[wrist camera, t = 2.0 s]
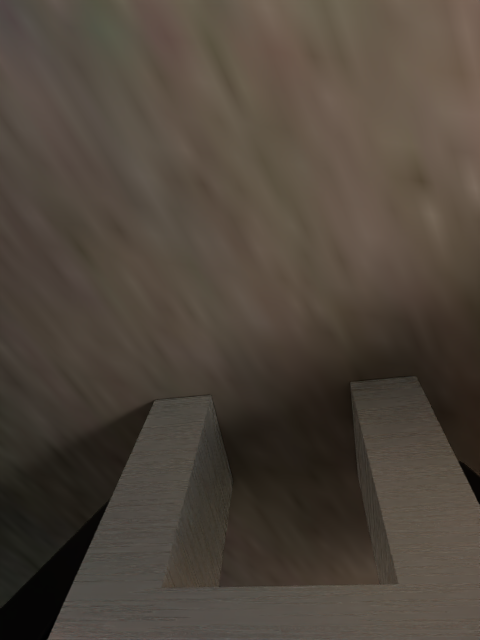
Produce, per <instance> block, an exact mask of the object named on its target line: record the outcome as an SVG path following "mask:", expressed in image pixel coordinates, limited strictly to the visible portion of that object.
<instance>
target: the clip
mask: <svg viewBox="0 0 480 640" xmlns="http://www.w3.org/2000/svg"><path fill="white" fill-rule="evenodd" d="M350 386H351V398H352V411H353V423H354V435H355V447H356V460H357V472H358V478H359V483H360V488H361V493H362V498H363V503H364V508H365V513H366V518H367V523H368V528H369V533H370V538H371V543H372V548H373V553H374V558H375V563H376V568H377V573H378V578H379V583H380V585H322V586H259V587H219V580H220V573H221V565H222V558H223V551H224V544H225V537H226V529H227V522H228V515H229V508H230V501H231V494H232V486H233V479H232V475H231V471H230V467H229V463H228V459H227V455H226V451H225V447H224V443H223V440H222V436H221V432H220V428H219V424H218V420H217V416H216V412H215V408H214V404H213V400H212V396H211V395H207V396H196V397H185V398H174V399H163V400H155V401H154V403H153V406H152V408H151V410H150V412H149V415H148V417H147V419H146V421H145V423H144V426H143V428H142V430H141V432H140V435H139V437H138V439H137V441H136V444H135V446H134V448H133V450H132V452H131V455H130V457H129V459H128V461H127V464H126V466H125V468H124V470H123V473H122V475H121V477H120V479H119V481H118V484H117V486H116V488H115V490H114V493H113V495H112V497H111V499H110V501H109V504H108V506H107V508H106V510H105V513H104V515H103V517H102V519H101V522H100V524H99V526H98V528H97V530H96V533H95V535H94V537H93V539H92V542H91V544H90V546H89V548H88V551H87V553H86V555H85V557H84V559H83V562H82V564H81V566H80V568H79V571H78V573H77V575H76V577H75V580H74V582H73V584H72V586H71V588H70V591H69V593H68V595H67V597H66V600H65V602H64V604H63V606H62V609H61V611H60V613H59V615H58V617H57V620H56V622H55V624H54V626H53V629H52V631H51V633H50V635H49V638H48V640H480V505H479V503H478V501H477V499H476V497H475V495H474V493H473V491H472V489H471V487H470V485H469V483H468V481H467V479H466V477H465V475H464V472H463V470H462V468H461V466H460V464H459V462H458V460H457V458H456V456H455V454H454V452H453V450H452V448H451V446H450V444H449V442H448V440H447V438H446V436H445V434H444V432H443V430H442V428H441V426H440V424H439V422H438V420H437V418H436V416H435V414H434V412H433V410H432V408H431V406H430V404H429V402H428V400H427V398H426V396H425V393H424V391H423V389H422V387H421V385H420V383H419V381H418V379H417V377H416V376H412V377H401V378H390V379H380V380H369V381H358V382H350Z"/></svg>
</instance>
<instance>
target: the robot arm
mask: <svg viewBox="0 0 480 640" xmlns="http://www.w3.org/2000/svg"><path fill="white" fill-rule="evenodd" d="M458 462H459V464H460V466H461V468H462V470H463V472H464V475H465V477H466V479H467V481H468V483H469V485H470V487H471V489H472V491H473V493H474V495H475V497H476V499H477V501H478V503H479V505H480V476H478V475H477V474H476V473H475V472H474V471H472V470H471V469H470V468H469V467H468V466H467V465H465V464H464V463H463V462H460V461H458ZM109 501H110V500H109ZM109 501H108V502H107V503H106V504H105V505H104V506H103V507H102V508H101V509H100V510H99V511H98V512H97V513H96V514H95V515H94V516H93V517H92V518H91V519H90V520H89V521H88V522H87V523H86V524H85V525H84V526H83V527H82V528H81V529H80V530H79V531H78V532H77V533H76V534H75V535H74V536H73V537H72V538H71V539H70V540H69V541H68V542H67V543H66V544H65V545H64V546H63V547H62V548H61V549H60V550H59V551H58V552H57V553H56V554H55V555H54V556H53V557H52V558H51V559H50V560H49V561H48V562H47V563H46V564H45V565H44V566H43V567H42V568H41V569H40V570H39V571H38V572H37V573H36V574H35V575H34V576H33V577H32V578H31V579H30V580H29V581H28V582H27V583H26V584H25V585H24V586H23V587H22V588H21V589H20V590H19V591H18V592H17V593H16V594H15V595H14V596H13V597H12V598H11V599H10V600H9V601H8V602H7V603H6V604H5V605H4V606H3V607H2V608H1V609H0V640H48V638H49V635H50V633H51V631H52V629H53V626H54V624H55V622H56V620H57V617H58V615H59V613H60V611H61V609H62V606H63V604H64V602H65V600H66V597H67V595H68V593H69V591H70V588H71V586H72V584H73V582H74V580H75V577H76V575H77V573H78V571H79V568H80V566H81V564H82V562H83V559H84V557H85V555H86V553H87V551H88V548H89V546H90V544H91V542H92V539H93V537H94V535H95V533H96V530H97V528H98V526H99V524H100V522H101V519H102V517H103V515H104V513H105V510H106V508H107V506H108V504H109Z"/></svg>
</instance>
